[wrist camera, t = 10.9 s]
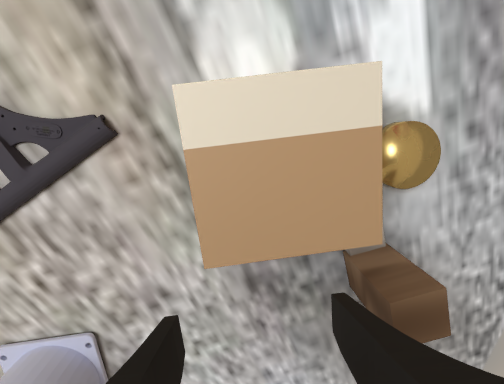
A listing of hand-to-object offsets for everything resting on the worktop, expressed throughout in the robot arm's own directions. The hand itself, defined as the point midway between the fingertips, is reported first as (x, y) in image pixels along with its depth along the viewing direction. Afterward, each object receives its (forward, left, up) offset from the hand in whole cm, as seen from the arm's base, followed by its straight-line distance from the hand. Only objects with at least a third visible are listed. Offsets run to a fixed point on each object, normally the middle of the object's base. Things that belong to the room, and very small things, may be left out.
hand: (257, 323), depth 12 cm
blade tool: (+1, -9, -10) cm, 14 cm away
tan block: (+6, -3, -10) cm, 12 cm away
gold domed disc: (+5, -13, -10) cm, 17 cm away
